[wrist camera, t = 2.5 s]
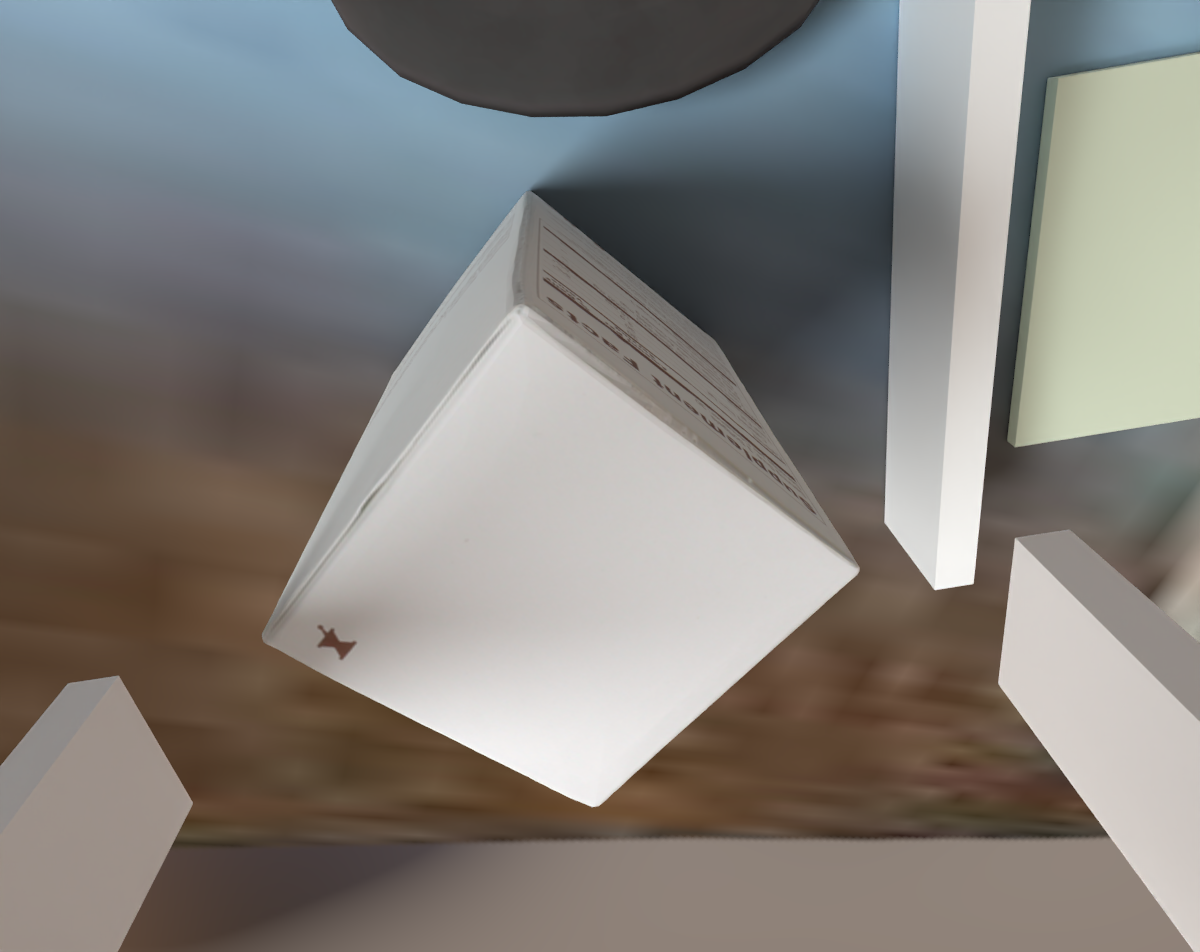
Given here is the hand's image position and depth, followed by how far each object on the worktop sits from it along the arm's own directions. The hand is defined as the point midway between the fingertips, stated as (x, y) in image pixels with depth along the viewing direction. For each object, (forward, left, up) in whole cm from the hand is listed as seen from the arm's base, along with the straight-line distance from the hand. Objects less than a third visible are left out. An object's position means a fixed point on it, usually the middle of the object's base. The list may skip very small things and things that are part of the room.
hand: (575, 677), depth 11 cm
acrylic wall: (0, +11, -14) cm, 18 cm away
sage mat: (0, +20, -14) cm, 24 cm away
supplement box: (0, 0, -14) cm, 14 cm away
